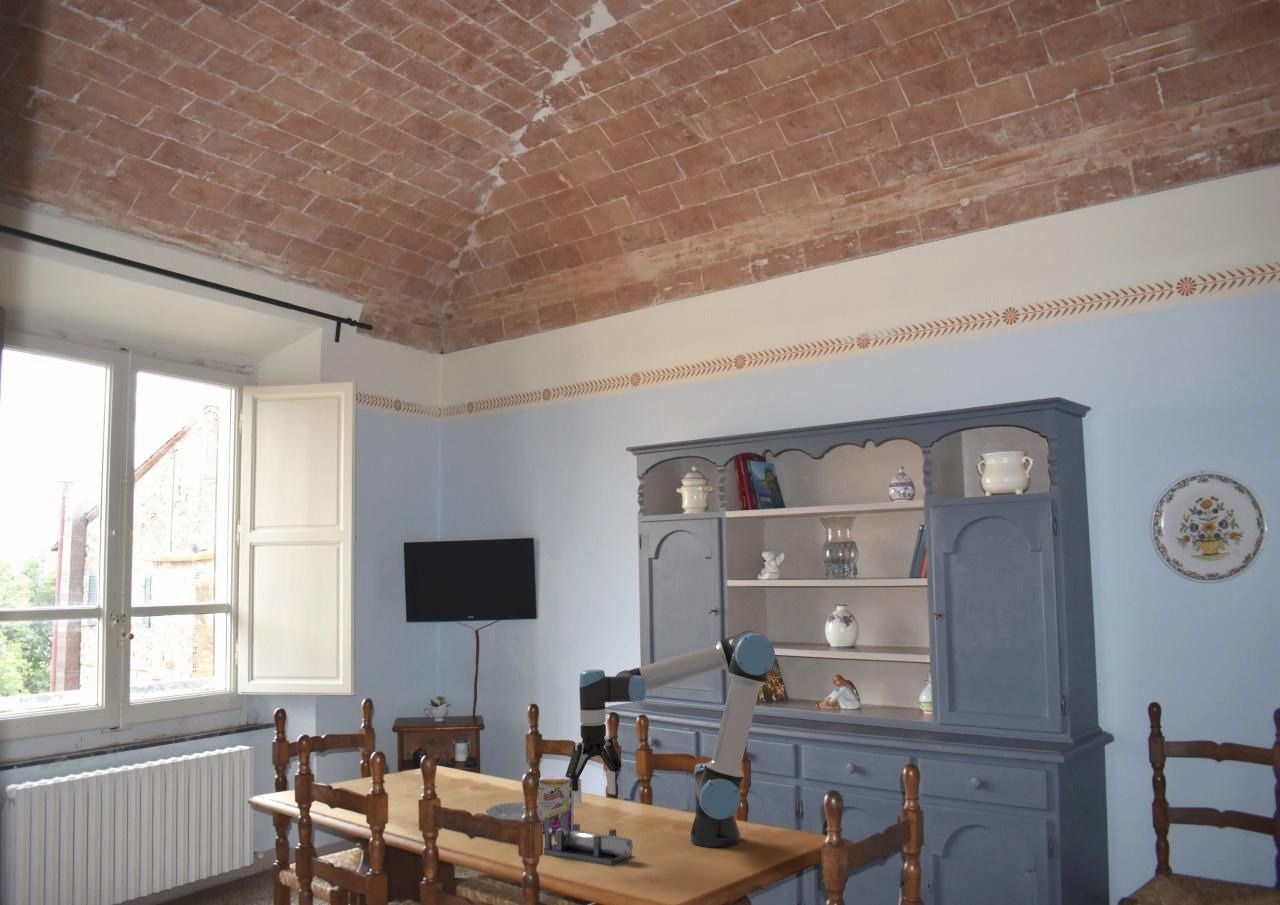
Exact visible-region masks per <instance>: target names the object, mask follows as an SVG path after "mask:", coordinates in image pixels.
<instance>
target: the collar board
mask: <svg viewBox="0 0 1280 905" xmlns="http://www.w3.org/2000/svg"><path fill="white" fill-rule="evenodd" d="M559 813H561V828H564V829H568V807H567V806H562V807H559V808H556V809H553V810H550V811H548V812H545V813H544V818H545V832H544V848H543V849H544V854H543V855H545V856H550V855H552V857H556V856H557V858H562V857H563V859H568V858H569V860H576V861H580V862H581V861H582V862H585V863H586V862H587V863H592V864H598V865H603V866H604V865H605V866H610V865H611V866H613V865H615V864H617V862H618V863H619V862H621V861H624V860H626V859H627V858H630V857H632V856H633V855H632V854H633V852H632V853H631V855H630V856H629V857H622V856H616V855H610V854H604V853H601V836H599V835H596V836H594V852H592V851H586V850H580V849H574V848H567V847H564V830H558V831H557V845H556V844H555V843H554V844H553V837H552V836H553V832H552V816H554V815H557V814H559ZM573 830H577V831H581V824H579V823H574V825H573ZM608 835H609V836H616V837H617V829H616V828H615V829H614V828H611V829H609V830H608Z"/></svg>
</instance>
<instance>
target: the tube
mask: <svg viewBox="0 0 1280 905" xmlns="http://www.w3.org/2000/svg"><path fill="white" fill-rule="evenodd" d="M558 830H564V847H567V848H574V849H580V850H586V851H592V852H594V836H596V835H599V836H601V853H604V854H610V855H616V856H622V857H628V858H630V857H631V856H630V855H631V853H632V854H633V848H634V846H633V845H634V844H633V840H632V839H631V838H628V837H627V838H626V837H620V836H617V835H616V836H609V834H608V835H607V834H601V833H596V832H590V831H583V830H582V831H581V830H580V831H577V830H573V829H564V828H559V829H558ZM558 830H557V831H558ZM557 831H556V832H555V834H554V844H556V845H557ZM629 856H630V857H629Z"/></svg>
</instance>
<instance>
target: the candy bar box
mask: <svg viewBox="0 0 1280 905" xmlns="http://www.w3.org/2000/svg"><path fill="white" fill-rule="evenodd" d="M538 779H539V789H538V815H539V819H540V821H541V824H542V826H543V830H544V832H543V833H545V818H544V813H545V812H548V811H550V810H553V809H556V808H559V807H562V806H567V807H568V829H573V825H574V824H575V823H574V802H573V791H572V781H571V779H570V778H567V777H566V776H565V777H564V776H562V777H561V776H559V777H558V776H540V777H539V778H538ZM559 828H561V813H559V814H557V815H554V816H552V833H556V831H557V830H558V829H559Z"/></svg>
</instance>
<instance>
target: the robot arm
mask: <svg viewBox="0 0 1280 905" xmlns="http://www.w3.org/2000/svg"><path fill="white" fill-rule="evenodd" d="M717 641H718V642H717V643H716V645H715V644H714V645H712V646H709V647H706V648H701V649H697V650H695V651H691V652H688V653H684V654H681V655H677V656H673V657H670V658H666V659H663V660H659V661H657V662H653V663H650V664H646V665H642V666H639V667H635V668H633V669H630V670H627V669H624V670H621V671H620V672H618V673H616V674H615V676H608V675H607V676H606V674H605V671H604V669H586V670H582V671H581V672H580V673H579V690H578V691H579V711H580V712H579V716H580V718H579V719H580V723H581V724H580V726H579V727H580V737H581V739H582V740H581V743H577V742H574V743H573V749H572V753H571V757H570V760H569V764H568V766H567V770H566V773H565V777H567V778H570V779H571V781H572V791H573V803H577V804H581V803H582V802H583V801H582V779H581V778H580V777H581V775H582V773H583V771H584V769H585V767H586V765H587V764H588V762H589V760H591V758H594V757H596V756H597V757H599V758H601V760H602V762H603V763H604V765H605V766H606V767H607V768H608V770H607V771H606V779H607V780H606V782H607V783H606V786H607V791H606V792H607V794H610V795H616V794H617V793H616V782H617V772H619V771H620V768H622V762H621V760H620V758H619V755H618V752H617V750H616V747H615V745H614V738H613V737H609V736H607V725H606V724H605V723H606V720H607V715H606V704H607V703H609V704H610V703H636V702H643V701H645V700H646V692H647V691H651V690H655V689H658V688H661V687H665V686H668V685H672V684H675V683H679V682H682V681H685V680H690V679H693V678H697V677H700V676H703V675H707V674H711V673H714V672H717V671H721V670H724V671H727V674H728V675H729V677H730V680H731V681H730V684H729V688H728V693H727V696H726V700H725V701H726V702H725V706H724V709H723V713H722V717H721V722H720V726H719V729H718V734H717V738H716V742H715V745H714V750H713V755H712V757H711V760H709V761H708V762H705V763H704V762H703V763H696V765H695V767H694V772H693V775H694V792H695V794H694V796H695V798H694V801H695V804H694V805H695V816H694V820H693V823H692V825H691V826H692V827H691V830H690V842H691V843H692V844H694V845H696V846H700V847H705V848H725V847H732V846H735V845H737V844H739V843H740V842H741V831H740V830H739V826H738V823H737V819H736V817H735V814H736V812H737V810H739V807H740V804H741V790H742V789H741V788H742V785H743V780H744V777H745V774H744V772H743V771H742V768H741V765H742V762H743V758H744V753H745V751H746V750H745V749H746V746H747V742H748V737H749V733H750V729H751V725H752V721H753V716H754V712H755V708H756V705H757V700H758V697H759V693H760V692H759V691H760V688H761V687H762V686H764V685H766V684H767V681H768V676H769V673H770V670H771V668H772V666H773V665H774V662H775V658H776V651H775V647H774V645H773V643H772V642H771V640H770V639H769V638H768V637H767V636H766V635H764V634H761V633H759V632H757V631H754V630H745V631H741V632H739V633H737V634H735V635H733V636H730V637H728V638H727V637H726V638H724V639H721V640H717Z"/></svg>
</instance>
